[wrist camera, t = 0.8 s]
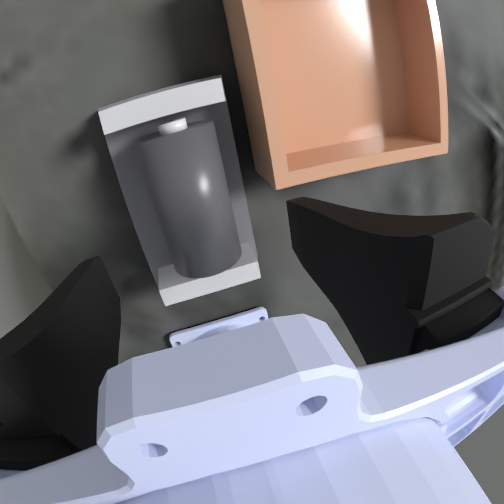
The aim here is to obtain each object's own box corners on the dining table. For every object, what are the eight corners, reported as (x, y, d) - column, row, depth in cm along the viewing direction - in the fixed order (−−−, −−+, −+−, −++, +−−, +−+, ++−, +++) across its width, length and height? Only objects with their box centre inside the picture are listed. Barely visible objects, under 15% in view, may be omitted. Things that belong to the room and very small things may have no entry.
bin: (411, 140, 22) (447, 152, 18) (255, 171, 20) (276, 190, 17) (392, -17, 15) (429, -25, 12) (217, -22, 13) (231, -46, 10)
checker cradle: (253, 251, 23) (269, 278, 20) (157, 279, 22) (158, 310, 19) (218, 75, 17) (230, 72, 14) (100, 108, 16) (87, 111, 13)
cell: (228, 232, 21) (252, 260, 17) (168, 254, 20) (182, 287, 16) (200, 110, 17) (222, 112, 13) (130, 130, 16) (134, 137, 12)
